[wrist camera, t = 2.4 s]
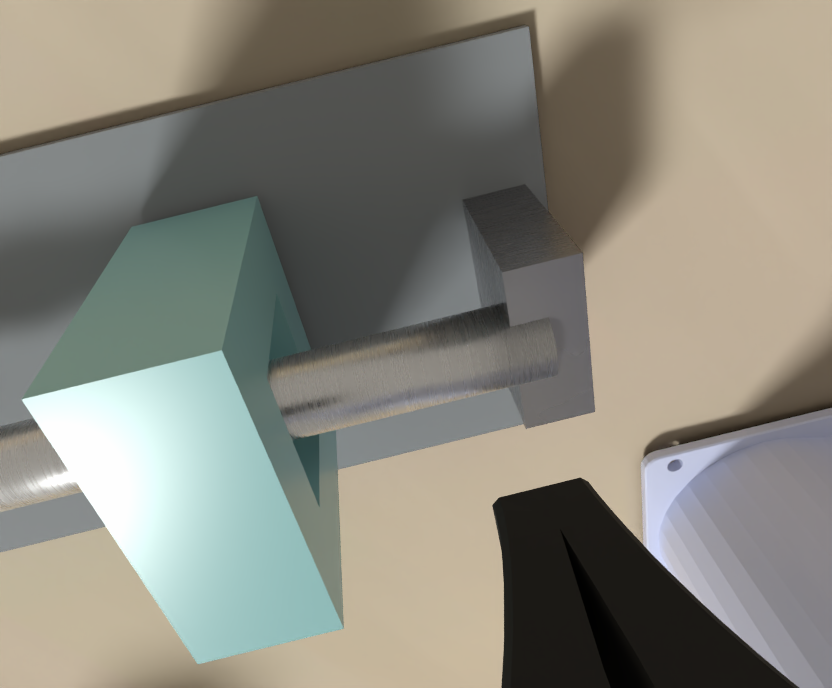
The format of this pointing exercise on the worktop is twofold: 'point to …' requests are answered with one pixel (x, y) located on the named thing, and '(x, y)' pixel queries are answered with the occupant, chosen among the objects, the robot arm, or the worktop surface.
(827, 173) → the worktop surface
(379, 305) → the grey rectangular plate
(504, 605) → the robot arm
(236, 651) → the teal slotted block
